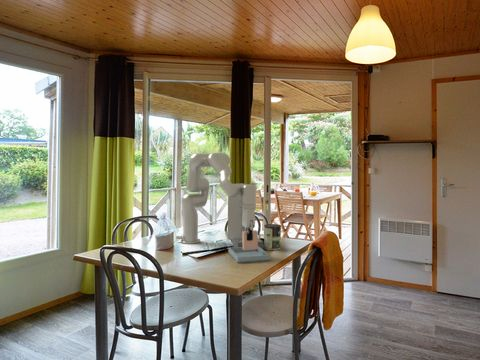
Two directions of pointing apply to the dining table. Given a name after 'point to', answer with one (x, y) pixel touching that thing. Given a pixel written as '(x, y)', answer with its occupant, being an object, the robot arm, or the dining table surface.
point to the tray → (248, 255)
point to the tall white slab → (235, 218)
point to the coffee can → (272, 236)
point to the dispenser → (238, 243)
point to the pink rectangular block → (250, 244)
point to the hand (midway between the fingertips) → (248, 239)
